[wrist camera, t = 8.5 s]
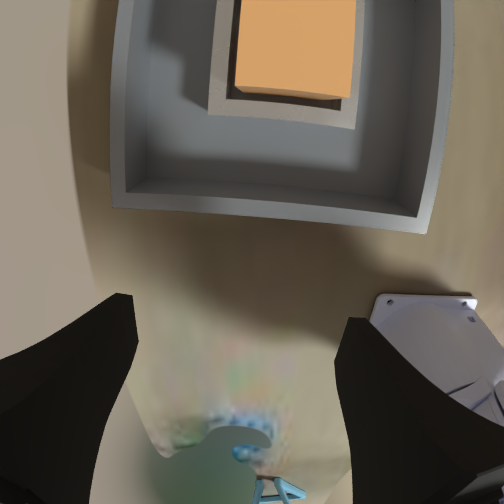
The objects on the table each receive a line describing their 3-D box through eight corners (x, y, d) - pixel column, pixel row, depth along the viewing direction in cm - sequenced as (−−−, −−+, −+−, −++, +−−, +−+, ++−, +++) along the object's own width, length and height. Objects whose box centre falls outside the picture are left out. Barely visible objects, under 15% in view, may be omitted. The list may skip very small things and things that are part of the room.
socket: (354, 10, 13) (364, -1, 11) (344, 126, 16) (354, 129, 14) (223, -5, 13) (219, -18, 11) (213, 114, 16) (207, 114, 14)
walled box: (419, -25, 12) (449, -45, 8) (398, 209, 19) (425, 234, 15) (158, -54, 12) (136, -82, 8) (139, 187, 18) (112, 207, 15)
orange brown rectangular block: (325, 31, 14) (355, -1, 8) (320, 100, 15) (349, 97, 10) (249, 23, 14) (243, -15, 8) (243, 93, 15) (234, 85, 10)
